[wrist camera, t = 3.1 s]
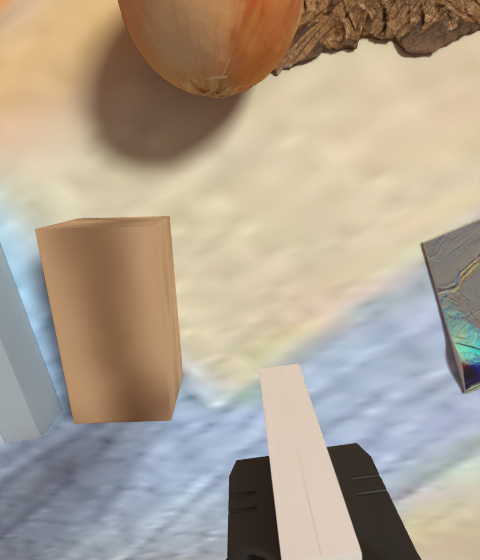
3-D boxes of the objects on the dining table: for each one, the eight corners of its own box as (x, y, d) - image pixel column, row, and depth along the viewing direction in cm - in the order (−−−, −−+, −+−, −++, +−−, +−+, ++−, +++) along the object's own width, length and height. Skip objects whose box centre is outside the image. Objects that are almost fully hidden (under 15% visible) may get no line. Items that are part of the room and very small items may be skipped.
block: (104, 376, 30) (74, 423, 24) (79, 218, 26) (34, 229, 20) (183, 373, 30) (171, 420, 24) (170, 216, 26) (152, 226, 20)
